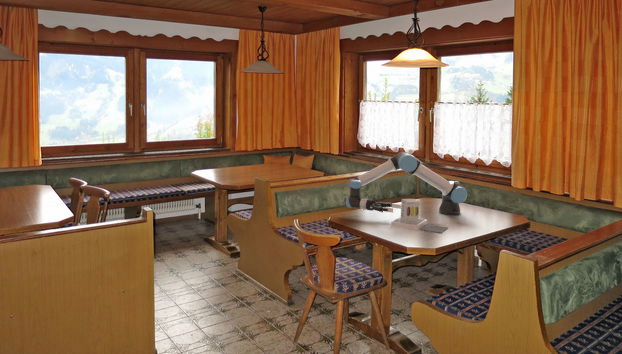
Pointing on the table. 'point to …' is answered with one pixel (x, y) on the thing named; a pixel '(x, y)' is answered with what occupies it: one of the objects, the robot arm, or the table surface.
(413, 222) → the supplement box
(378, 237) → the table surface
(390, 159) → the robot arm
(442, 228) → the charcoal mat
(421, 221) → the beige square tray
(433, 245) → the table surface
